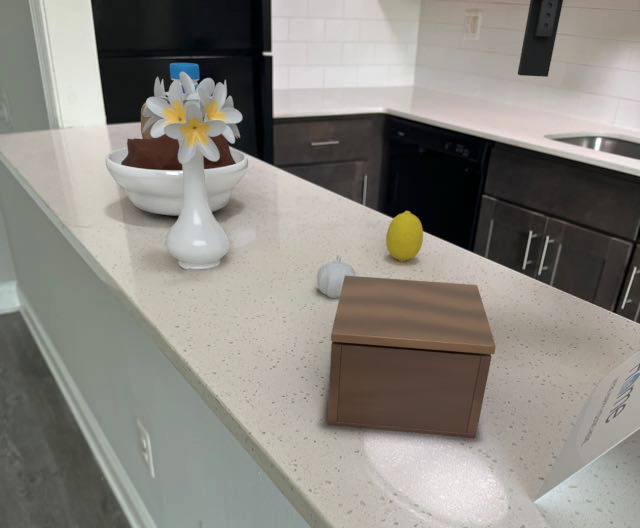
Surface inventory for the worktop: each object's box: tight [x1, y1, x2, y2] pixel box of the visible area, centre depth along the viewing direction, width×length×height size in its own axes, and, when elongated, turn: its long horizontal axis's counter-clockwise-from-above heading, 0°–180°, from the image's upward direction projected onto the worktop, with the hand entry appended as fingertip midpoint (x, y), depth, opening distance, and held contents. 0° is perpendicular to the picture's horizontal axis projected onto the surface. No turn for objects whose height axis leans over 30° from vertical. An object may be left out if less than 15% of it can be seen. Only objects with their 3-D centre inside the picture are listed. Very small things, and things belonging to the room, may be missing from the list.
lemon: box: [385, 210, 424, 263], centre depth 99 cm, size 6×6×8 cm
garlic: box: [316, 254, 357, 299], centre depth 88 cm, size 6×5×5 cm
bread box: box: [326, 341, 492, 439], centre depth 65 cm, size 15×14×9 cm
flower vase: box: [142, 72, 243, 271], centre depth 91 cm, size 13×18×25 cm
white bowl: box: [104, 134, 249, 217], centre depth 118 cm, size 25×25×15 cm
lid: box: [330, 275, 496, 355], centre depth 62 cm, size 16×14×1 cm
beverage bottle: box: [169, 62, 200, 94], centre depth 158 cm, size 8×8×20 cm
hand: (532, 75), depth 64 cm, fingers closed
